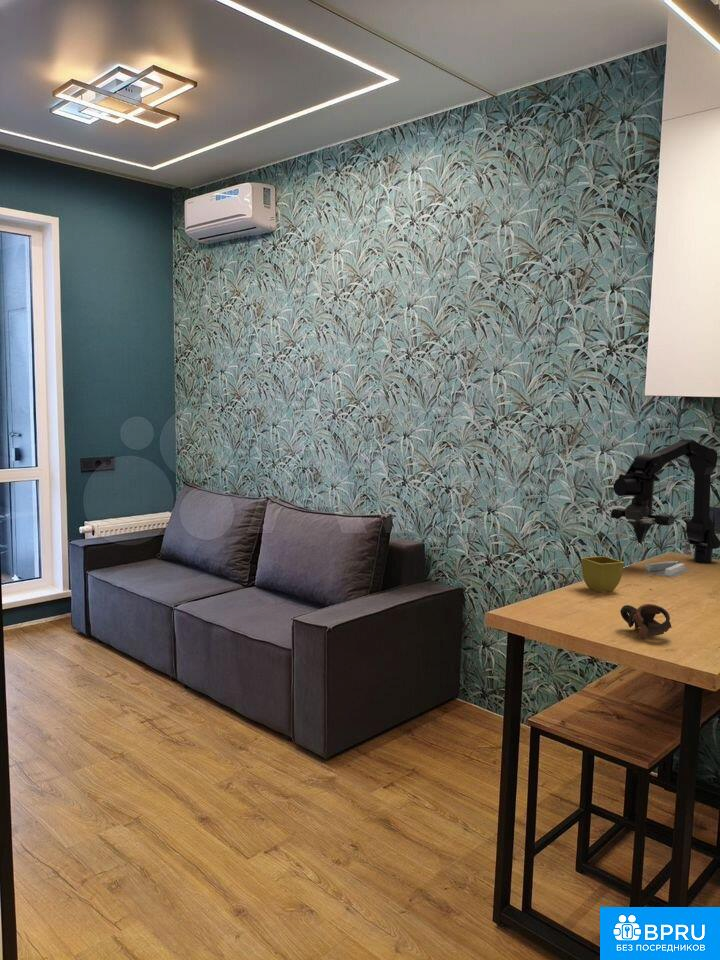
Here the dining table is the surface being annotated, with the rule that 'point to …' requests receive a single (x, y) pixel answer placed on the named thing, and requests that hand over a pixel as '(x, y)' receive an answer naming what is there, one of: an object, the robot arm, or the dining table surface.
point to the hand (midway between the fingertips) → (640, 542)
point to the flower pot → (601, 573)
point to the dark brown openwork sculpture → (646, 619)
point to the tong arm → (660, 565)
